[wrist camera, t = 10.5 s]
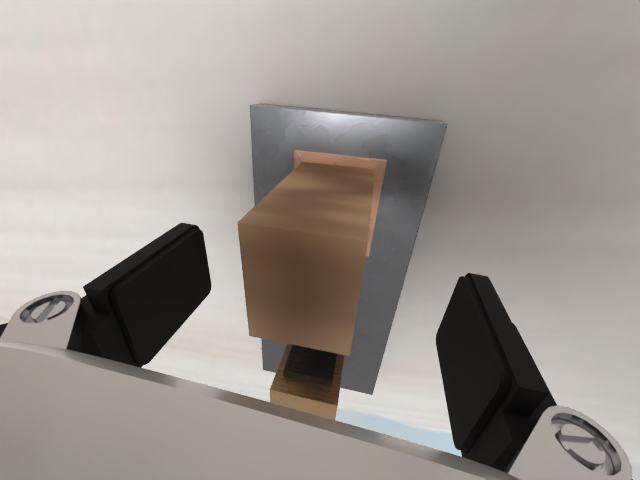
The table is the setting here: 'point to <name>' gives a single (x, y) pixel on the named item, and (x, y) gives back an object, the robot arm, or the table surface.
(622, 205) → the table surface
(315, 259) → the brown rectangular block
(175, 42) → the table surface
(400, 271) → the gray base with block
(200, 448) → the robot arm
